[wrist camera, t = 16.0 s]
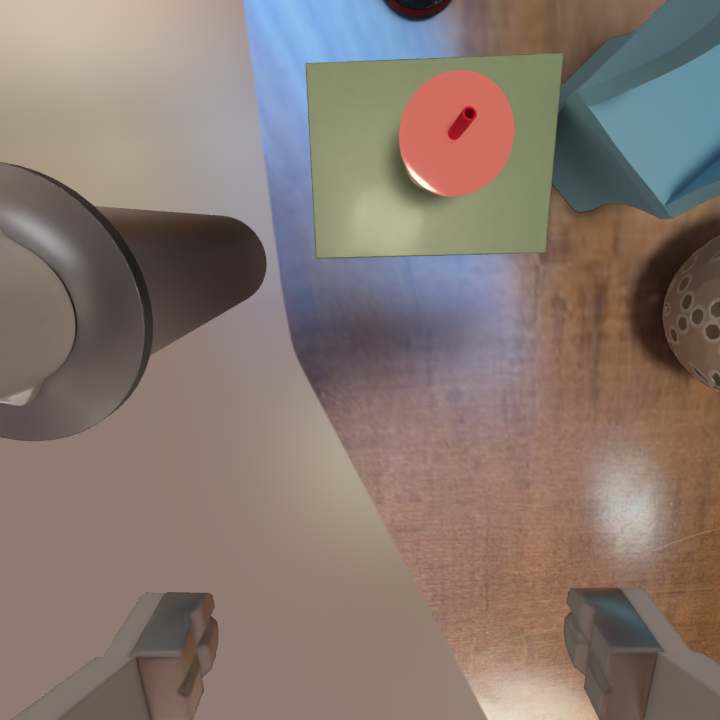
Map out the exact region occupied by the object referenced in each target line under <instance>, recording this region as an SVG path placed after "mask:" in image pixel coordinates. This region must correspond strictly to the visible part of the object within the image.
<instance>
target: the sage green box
mask: <svg viewBox="0 0 720 720" xmlns="http://www.w3.org/2000/svg"><path fill="white" fill-rule="evenodd" d="M562 64H563V53H556V54H531V55H505V56H480V57H454V58H428V59H403V60H377V61H352V62H326V63H306V81H307V99H308V118H309V136H310V155H311V174H312V192H313V211H314V229H315V248H316V258H317V259H320V258H359V257H398V256H437V255H476V254H515V253H545V250H546V239H547V228H548V217H549V206H550V195H551V184H552V174H553V163H554V152H555V141H556V130H557V119H558V108H559V97H560V86H561V75H562ZM454 70H467V71H473V72H476V73H479V74H481V75H483V76H485V77H487V78H489V79H490V80H492V81H493V82H494V83H495V84H496V85H497V86H498V87H499V88H500V89H501V90H502V92H503V93H504V95H505V96H506V98H507V100H508V102H509V104H510V107H511V110H512V113H513V118H514V140H513V145H512V149H511V152H510V155H509V157H508V160H507V162H506V164H505V165H504V167H503V168H502V170H501V171H500V173H499V174H498V175H497V176H496V177H495V178H494V179H493V180H492V181H491V182H490V183H489V184H488V185H486V186H485V187H483V188H482V189H480V190H478V191H476V192H474V193H471V194H468V195H464V196H458V197H448V196H442V195H438V194H435V193H432V192H430V191H428V190H425V189H422V188H420V187H418V186H417V185H415V184H414V183H413V182H412V181H411V179H410V178H409V176H408V174H407V171H406V167H405V164H404V162H403V159H402V156H401V152H400V146H399V129H400V123H401V119H402V116H403V113H404V110H405V108H406V106H407V104H408V102H409V100H410V99H411V97H412V96H413V95H414V93H415V92H416V91H417V90H418V89H419V88H420V87H421V86H422V85H423V84H424V83H425V82H427V81H428V80H430V79H431V78H433V77H435V76H437V75H439V74H442V73H445V72H448V71H454Z"/></svg>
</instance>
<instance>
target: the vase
mask: <svg viewBox="0 0 720 720" xmlns="http://www.w3.org/2000/svg"><path fill="white" fill-rule="evenodd" d="M552 184H553V185H554V186H555V188H556V189H557V190H558V191H559V192H560V194H561V195H562V196H563V197H564V199H565V200H566V201H567V202H568V203H569V205H570V206H571V207H572V208H573V209H574V210H576V211H578V212H586V211H591V210H593V209H595V208H597V207H599V206H602V205H606V204H615V203H618V204H625V205H629V206H632V207H635V208H638V209H641V210H643V211H645V212H648V213H650V214H652V215H654V216H656V217H658V218H660V219H666V218H674V217H676V216H678V215H680V214H682V213H684V212H686V211H687V210H689V209H691V208H693V207H695V206H697V205H699V204H701V203H703V202H705V201H707V200H709V199H712V198H714V197H716V196H719V195H720V0H667V1H666V2H665V3H664V4H663V5H662V6H661V7H660V8H659V9H658V10H657V11H656V12H655V13H654V14H653V15H652V16H651V17H650V18H649V19H648V20H647V21H646V22H645V23H644V24H643V25H642V26H641V27H640V28H639V29H637V30H635V31H633V32H631V33H629V34H626V35H623V36H620V37H616V38H611V39H608V40H607V41H606V42H605V43H604V44H603V45H602V46H601V47H600V48H599V49H598V50H597V51H596V52H595V53H594V54H593V55H592V56H591V57H590V58H589V59H588V60H587V61H586V62H585V63H584V64H583V65H582V66H581V67H580V68H579V69H578V70H577V71H576V72H575V73H574V74H573V75H572V76H571V77H570V78H569V79H568V80H567V81H566V82H565V83H564V84H563V85H562V86H561V87H560V97H559V108H558V119H557V130H556V141H555V152H554V163H553V174H552Z"/></svg>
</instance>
